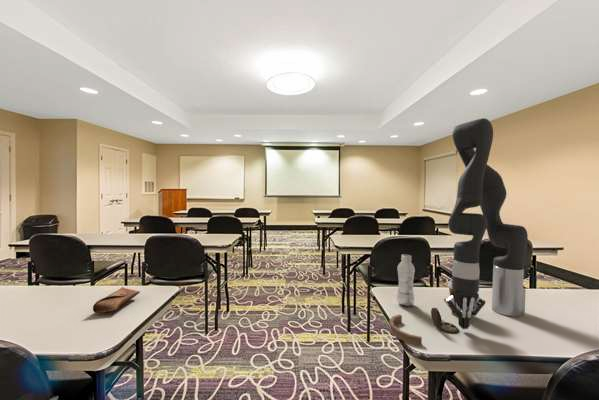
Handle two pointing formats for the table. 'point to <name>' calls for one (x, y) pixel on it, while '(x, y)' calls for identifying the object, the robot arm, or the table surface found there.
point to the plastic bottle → (405, 281)
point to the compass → (442, 323)
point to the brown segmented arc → (402, 335)
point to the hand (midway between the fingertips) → (463, 327)
